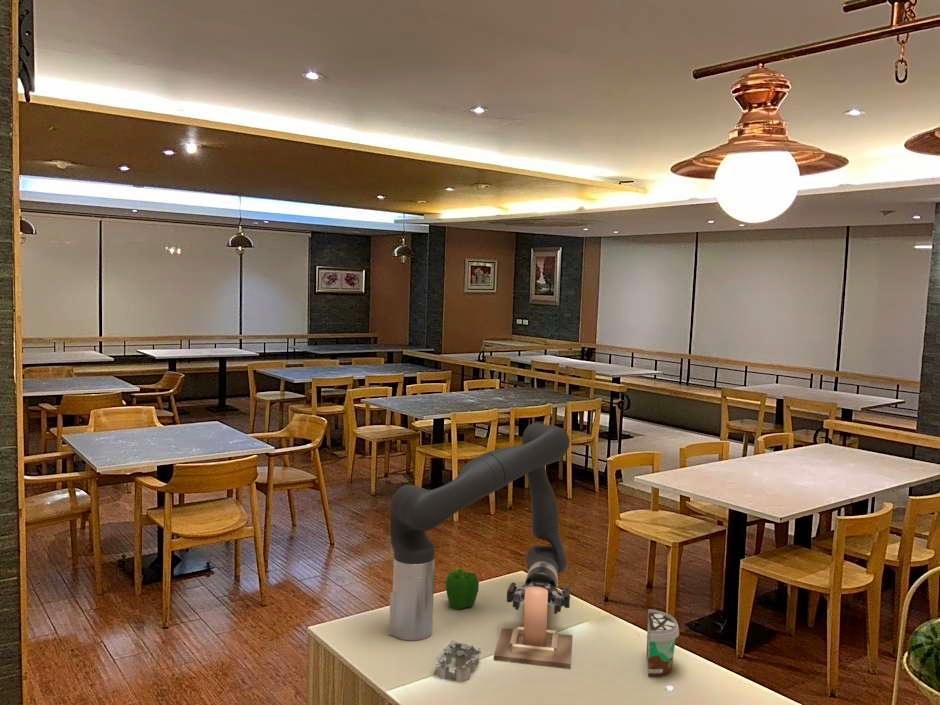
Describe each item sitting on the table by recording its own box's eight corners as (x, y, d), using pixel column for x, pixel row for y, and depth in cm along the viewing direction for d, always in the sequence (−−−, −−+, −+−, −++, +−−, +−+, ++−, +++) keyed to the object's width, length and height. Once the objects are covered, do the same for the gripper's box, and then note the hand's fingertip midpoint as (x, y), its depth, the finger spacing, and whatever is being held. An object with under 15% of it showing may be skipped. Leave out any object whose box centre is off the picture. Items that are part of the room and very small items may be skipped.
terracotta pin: (521, 648, 157) (523, 593, 156) (524, 638, 162) (526, 585, 161) (545, 651, 156) (547, 596, 156) (546, 640, 161) (548, 587, 161)
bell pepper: (466, 596, 188) (468, 558, 187) (483, 608, 181) (484, 568, 180) (438, 602, 183) (439, 563, 183) (454, 614, 176) (455, 573, 176)
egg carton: (466, 685, 143) (466, 665, 143) (431, 677, 146) (431, 658, 145) (484, 661, 153) (484, 642, 153) (451, 654, 156) (451, 636, 155)
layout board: (493, 660, 153) (494, 648, 153) (501, 632, 167) (502, 621, 167) (570, 668, 151) (570, 656, 151) (572, 639, 165) (572, 628, 164)
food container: (679, 684, 146) (682, 635, 145) (648, 680, 147) (650, 631, 147) (675, 656, 158) (677, 611, 158) (646, 652, 159) (648, 608, 159)
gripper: (512, 563, 177) (504, 587, 161) (572, 568, 175) (569, 594, 159) (511, 593, 177) (503, 621, 161) (570, 599, 175) (568, 627, 159)
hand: (536, 607), depth 160 cm, fingers open, 8 cm apart
